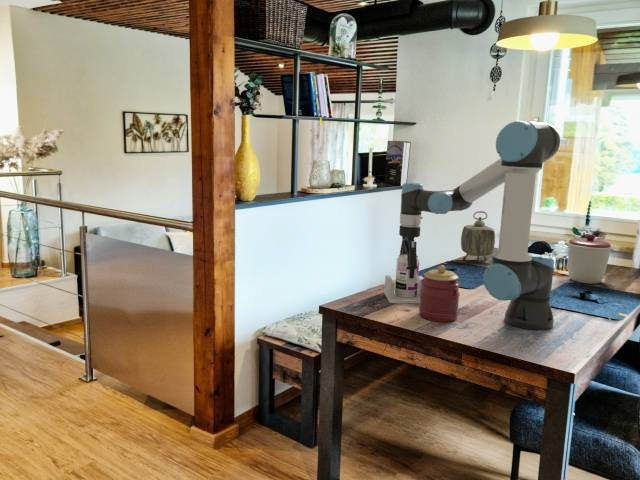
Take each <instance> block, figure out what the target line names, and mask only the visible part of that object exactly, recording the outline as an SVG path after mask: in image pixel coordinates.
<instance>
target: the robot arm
mask: <svg viewBox="0 0 640 480" xmlns="http://www.w3.org/2000/svg"><path fill="white" fill-rule="evenodd" d="M495 140H496V141H495V150H496V153H497V154H498V156H499V159H498V160H496V161H494V162H493V163H491V164H490V165H489V166H487V167H486V168H484V169H482V170H481V171H480V172H478V173H477V174H474V175H473V176H472V177H469V179H467V180H466V181H465V182H463V183H461V184H460V185H458V186H457V187H455V188H454V189H448V190H426V189H424V185H423V184H422V183H419V182H404V183H403V184H402V187H401V194H400V196H401V197H400V198H401V199H400V200H401V201H400V212H399V224H400V225H399V233H398V235H399V236H401V238H402V239H401V245H400V249H399V250H400V252H399V255H401V254H407V259H408V267H407V268H406V269H407V284H406V286H407V287H414V282H415V269H417V256H418V255H417V241H415V238H419V237H421V220H423V216H422V212H424V213H425V212H427V213H432V214H434V215H446V214H448V212H457V211H459V212H461V211H465V210H468V209H470V207H471V206H472V205H473V202H475V201H477V200H479V199H480V198H482V197H483V196H485V195H486V194H488V193H490V192H492V191H493V190H495V189H496V188H498V187H500V186H501V185H503V184H504V185H503V186H504V187H503V197H502V206H501V207H502V208H501V209H502V210H501V217H500V218H501V219H500V229H499V237H498V239H499V240H498V248H497V250H495V252H492V254H491V255H492V256H491V259H492V260H491V264H490V265H489V266H488V267H487V268H486V269H485V270H484V271H483V276H482V278H483V280H482V281H483V286H484V288H485V290H486V291H487V292H488V294H489V295H490V296H491V297H493V299H496V300H497V301H498V300H499V301H504V302H506V301H510V302H509V303H508V306H507V309H506V310H505V313H504V321H505V322H506V323H508V324H509V325H511V326H513V327H517V328H521V329H525V330H532V329H533V330H535V331H537V330H538V331H539V330H540V331H544V330H550V329H552V328H553V327H554V321H555V320H554V316H553V311H552V306H551V296H552V295H551V293H552V287H553V286H552V285H553V276H554V271H555V260H554V259H553V258H552V257H550V256H547V255H542V254H536V253H531V252H528V251H529V243H530V235H531V233H530V232H531V231H530V230H531V223H532V213H533V206H534V205H533V204H534V196H535V188H536V177H537V173H539V172H540V171H541V170H542V169H543V163H545V162H547V161H548V160H551V158H553V157H554V156H555V155H556V154H557V152H558V151H559V148H560V147H561V146H560V144H561V136H560V134H559V131H558V130H557V129H556V127H555V126H553V125H552V124H550V123H547V122H543V121H530V120H528V121H527V120H520V121H519V120H517V121H512V122H510V123H508V124H506V125H505V126H503V127H502V129H501V130H500V131H499V133H498V134H497V137H496V139H495ZM411 265H413V266H411ZM551 327H552V328H551ZM549 328H550V329H549Z"/></svg>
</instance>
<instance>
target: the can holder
mask: <svg viewBox="0 0 640 480" xmlns="http://www.w3.org/2000/svg"><path fill="white" fill-rule="evenodd" d="M424 278H425V277H423V276H422V275H418V288H417V295H416V296H415V297H413V298H403V297H399V296H397V295H396V294H395V283H396V282H395V281H394V280H393V278H392V277H391V275H389V274H387V275H386V274H385V278H384V279H385V281H384V291H383V293H384V295H385V297H386V299H387V300H388V303H389V304H416V305H420V296H421V292H420V290H421V289H422V283H421V280H422V279H424Z"/></svg>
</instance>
